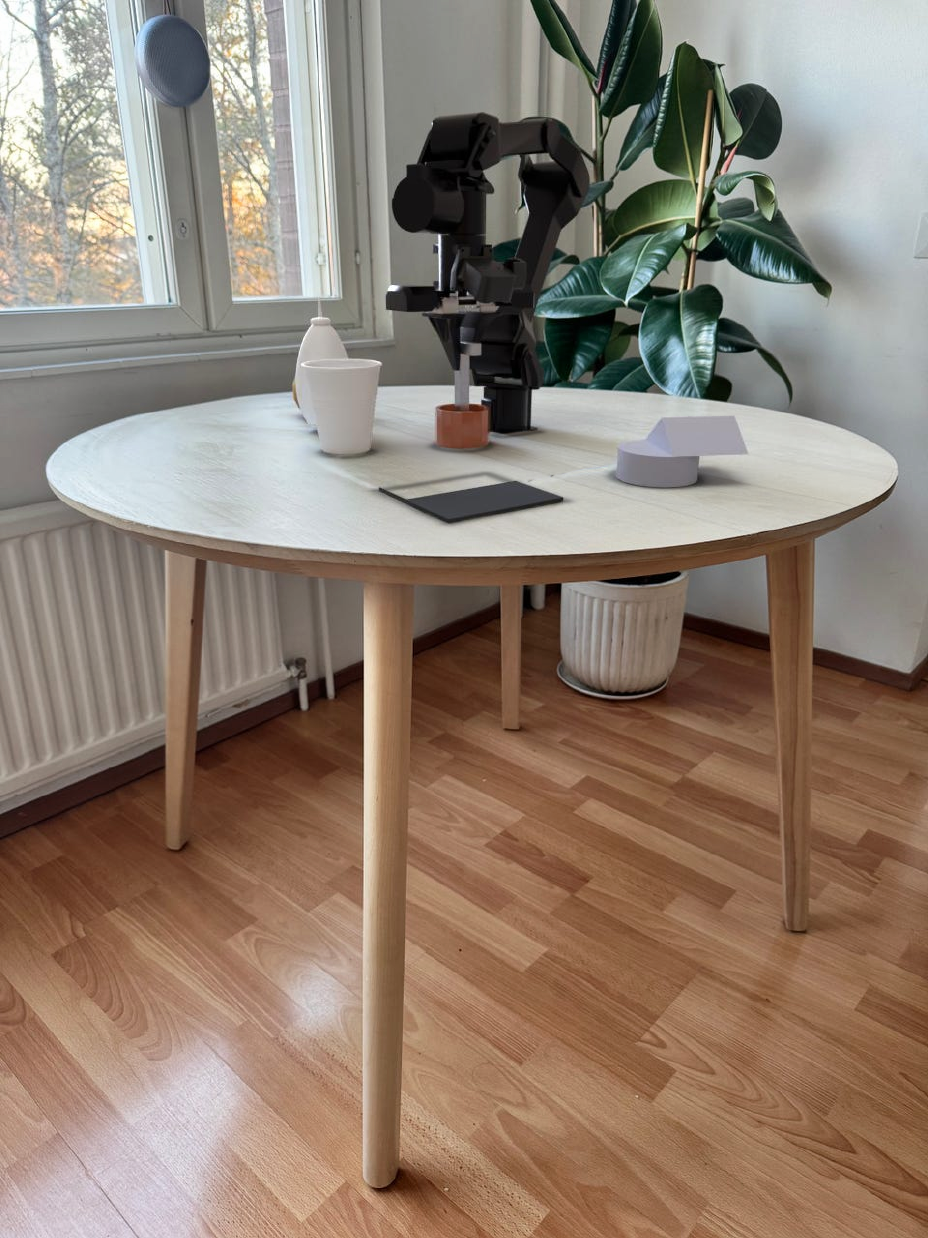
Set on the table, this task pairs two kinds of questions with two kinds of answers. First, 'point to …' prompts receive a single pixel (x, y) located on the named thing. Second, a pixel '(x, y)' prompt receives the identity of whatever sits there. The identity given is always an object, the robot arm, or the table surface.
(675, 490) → the table surface
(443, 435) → the pencil pot
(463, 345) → the hex key
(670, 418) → the wedge on round base
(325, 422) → the cup
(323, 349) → the sauce bottle
